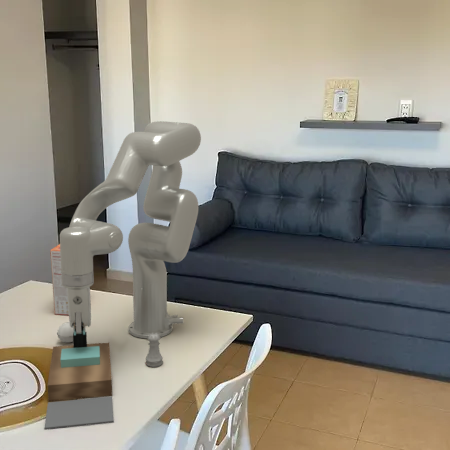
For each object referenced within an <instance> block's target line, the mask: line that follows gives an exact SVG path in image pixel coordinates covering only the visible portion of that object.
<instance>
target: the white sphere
mask: <svg viewBox="0 0 450 450" xmlns="http://www.w3.org/2000/svg"><path fill="white" fill-rule="evenodd" d="M73 333H74V329H73V328H72V327H70V321H68V322H64V323H62V324H60V326H59V327H58V329H57V332H56V335H57V338H58V339H59V341H61V342H62V343H65V344H69V343H73Z"/></svg>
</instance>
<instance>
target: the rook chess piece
mask: <svg viewBox="0 0 450 450" xmlns="http://www.w3.org/2000/svg"><path fill="white" fill-rule="evenodd" d="M147 340H148V345H149V346H148V353H147V355H146V358H145V362H144V363H145V364H146V366H147V367H150V368H158V367H160V366H161V365H163V363H164V362H163V358H164V357H163V356H162V354H161V351H160V344H161V343H160V340H161V337H160V336H159V334H157V333H155V334H154V333H152V335H151V334H149V337H148V338H147Z"/></svg>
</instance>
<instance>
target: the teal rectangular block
mask: <svg viewBox="0 0 450 450" xmlns="http://www.w3.org/2000/svg"><path fill="white" fill-rule="evenodd" d="M88 365H100V349H99V346H93V347H80V348H67V349H62V351H61V368H64V367H76V366H88Z"/></svg>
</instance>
